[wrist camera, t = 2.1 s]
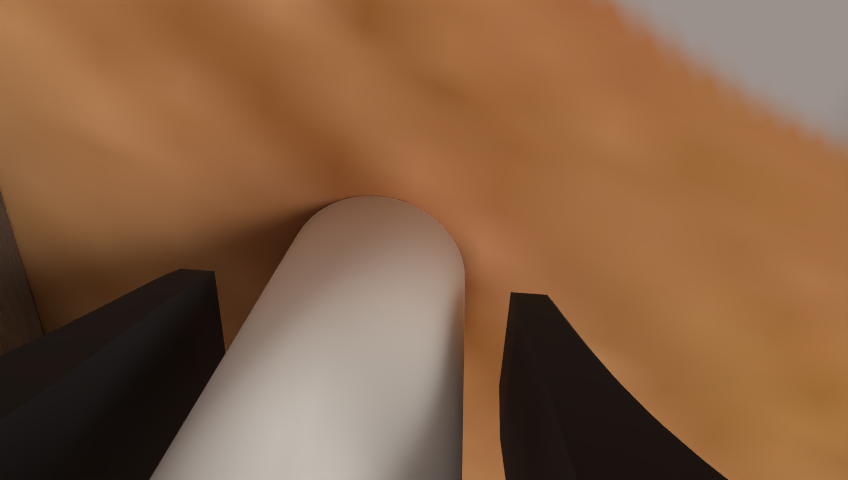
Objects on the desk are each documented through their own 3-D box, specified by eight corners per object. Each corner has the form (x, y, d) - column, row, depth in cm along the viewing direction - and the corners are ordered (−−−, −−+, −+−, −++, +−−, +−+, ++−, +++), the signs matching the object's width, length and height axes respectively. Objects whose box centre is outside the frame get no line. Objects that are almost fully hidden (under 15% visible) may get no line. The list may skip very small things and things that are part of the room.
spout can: (458, 356, 13) (439, 1064, 5) (293, 343, 13) (0, 1004, 5) (474, 171, 11) (483, 824, 3) (280, 160, 11) (-239, 744, 3)
